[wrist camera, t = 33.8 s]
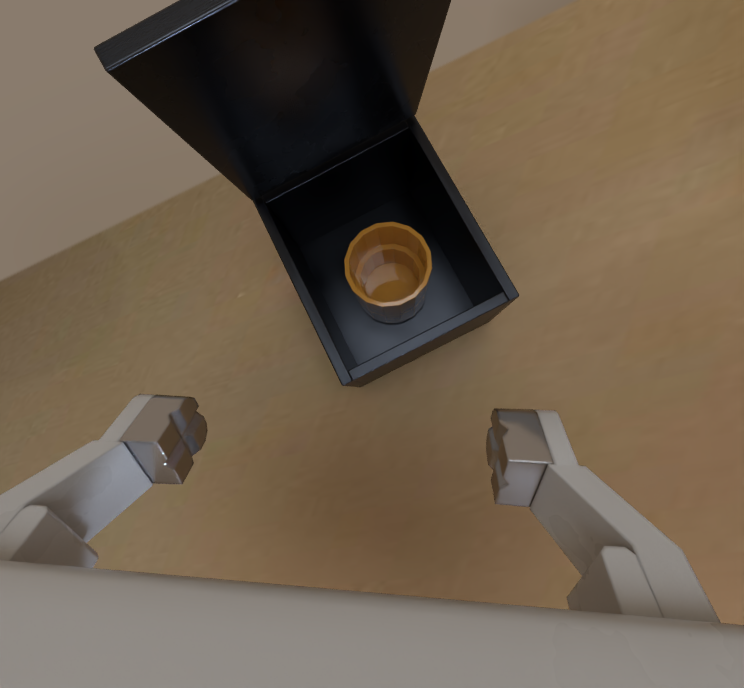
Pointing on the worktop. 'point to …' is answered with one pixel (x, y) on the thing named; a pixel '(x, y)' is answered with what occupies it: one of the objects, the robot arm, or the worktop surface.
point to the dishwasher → (363, 209)
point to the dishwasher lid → (278, 77)
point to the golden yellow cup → (389, 271)
